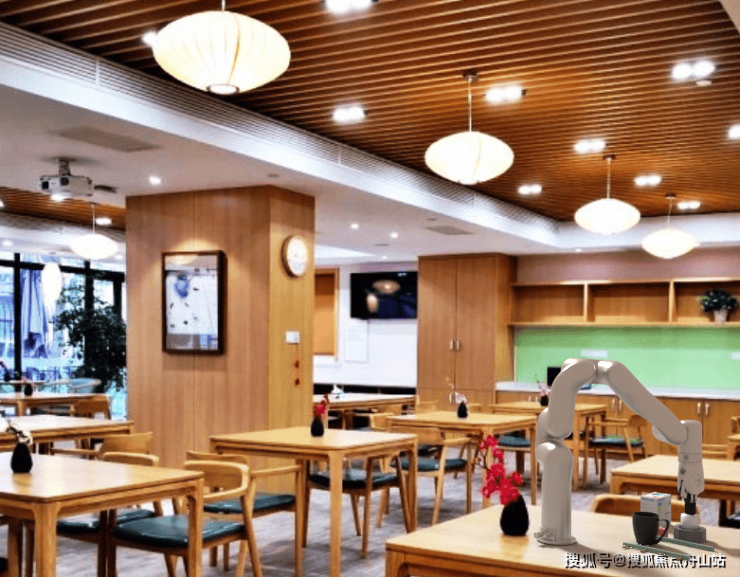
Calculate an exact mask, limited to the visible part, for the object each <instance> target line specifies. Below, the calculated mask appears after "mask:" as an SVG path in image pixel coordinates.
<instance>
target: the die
mask: <svg viewBox="0 0 740 577" xmlns="http://www.w3.org/2000/svg"><path fill="white" fill-rule="evenodd" d="M665 528H666V527H659V529H658V534H657V536H661V535H662V534H663V532H664V530H665ZM664 537H667V538H669V529H668V530H667V532H666V534H665V535H664Z"/></svg>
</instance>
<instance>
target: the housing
mask: <svg viewBox="0 0 740 577" xmlns="http://www.w3.org/2000/svg"><path fill="white" fill-rule="evenodd" d="M672 533H673V534H672V535H673V536H672V539H677V540H682V541H687V542H692V543H697V544H702V545H703V544H705V543H707V527H705V526H701V525H699V530H686V529H682V528H681V523H679V524H674V525H673V532H672Z"/></svg>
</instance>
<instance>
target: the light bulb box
mask: <svg viewBox="0 0 740 577" xmlns="http://www.w3.org/2000/svg"><path fill="white" fill-rule="evenodd" d="M640 511H642V512H652V513H656V514H658V515H659V519H667V520H669V522H670V526H671V525H672V494H670V493H662V492H656V491H653V492H650V493H647V494H644V495H640ZM659 527H663V528H666V522H665V521H659Z"/></svg>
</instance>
